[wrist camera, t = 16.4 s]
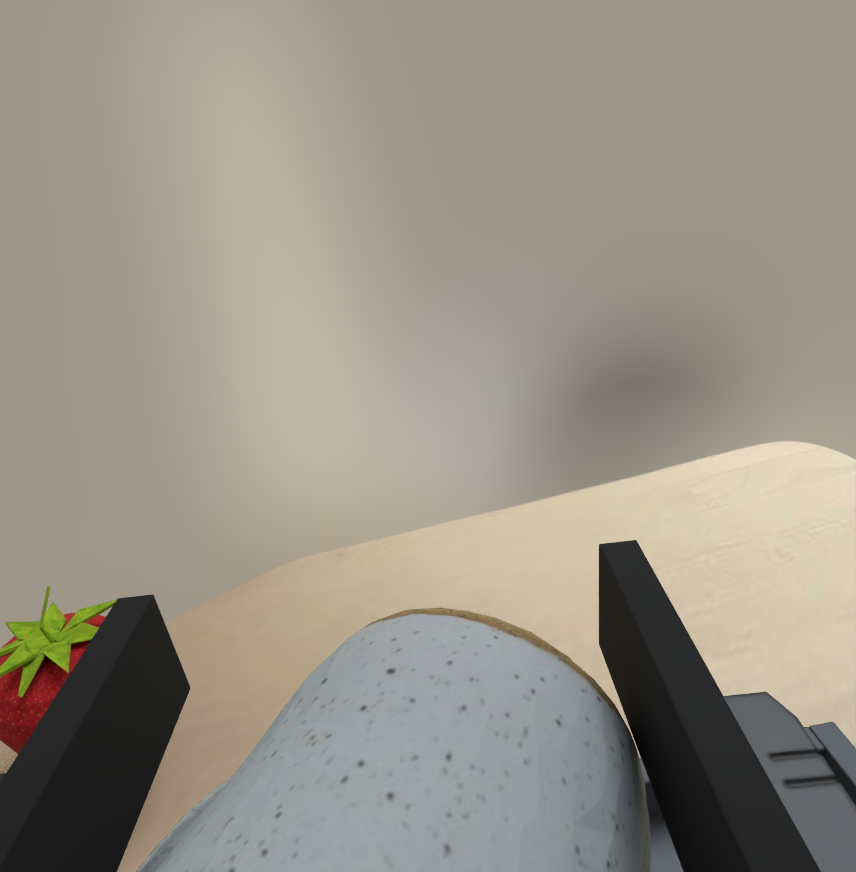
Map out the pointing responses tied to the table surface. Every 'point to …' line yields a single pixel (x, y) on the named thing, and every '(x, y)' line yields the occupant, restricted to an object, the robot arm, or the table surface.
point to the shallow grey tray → (842, 757)
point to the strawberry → (40, 666)
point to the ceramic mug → (430, 764)
